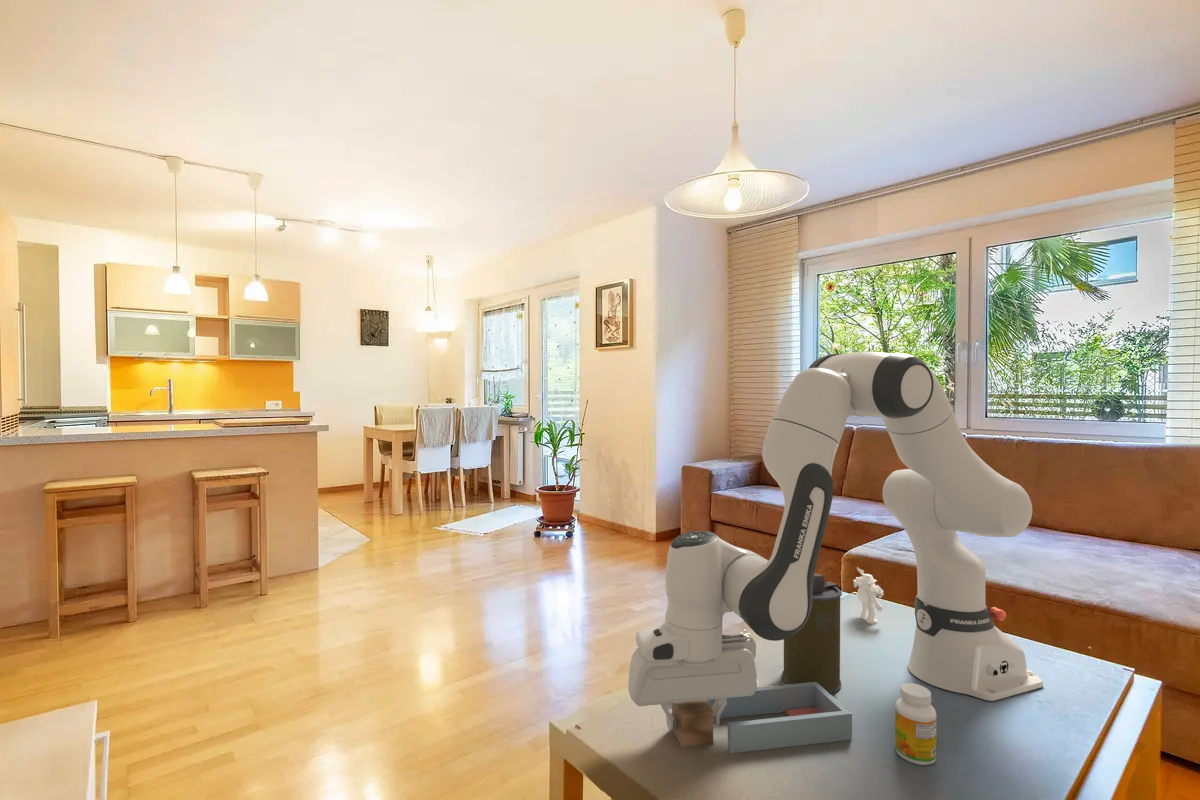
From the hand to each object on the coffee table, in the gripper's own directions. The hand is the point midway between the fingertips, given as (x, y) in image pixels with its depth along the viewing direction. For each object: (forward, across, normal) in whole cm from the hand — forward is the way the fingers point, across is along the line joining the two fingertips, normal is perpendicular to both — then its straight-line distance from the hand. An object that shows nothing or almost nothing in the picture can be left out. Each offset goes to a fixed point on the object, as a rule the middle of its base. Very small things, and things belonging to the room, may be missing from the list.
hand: (692, 725), depth 88 cm
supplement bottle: (+2, -31, +10) cm, 33 cm away
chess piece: (+2, -15, -14) cm, 21 cm away
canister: (+2, -28, -13) cm, 31 cm away
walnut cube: (+2, 0, 0) cm, 2 cm away
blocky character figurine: (+2, -57, -37) cm, 68 cm away
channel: (+2, -14, 0) cm, 14 cm away
